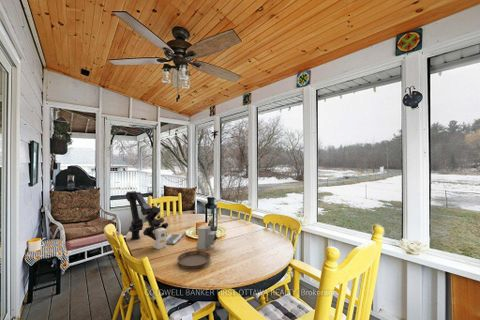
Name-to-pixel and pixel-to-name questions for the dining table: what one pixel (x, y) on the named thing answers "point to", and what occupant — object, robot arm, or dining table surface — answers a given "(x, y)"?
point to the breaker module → (159, 238)
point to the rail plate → (173, 238)
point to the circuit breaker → (205, 237)
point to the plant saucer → (193, 259)
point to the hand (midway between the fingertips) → (161, 238)
